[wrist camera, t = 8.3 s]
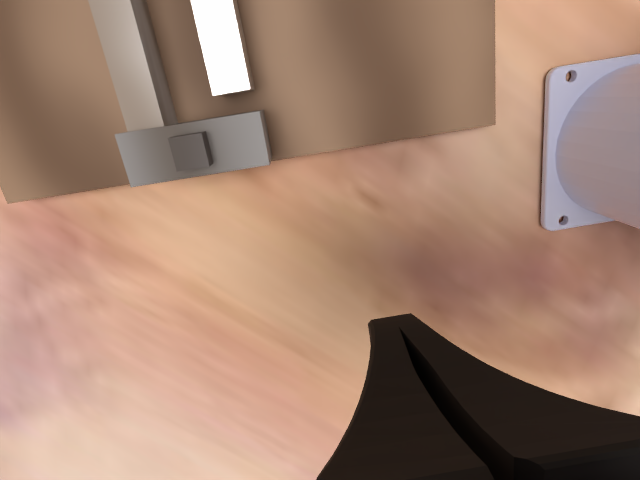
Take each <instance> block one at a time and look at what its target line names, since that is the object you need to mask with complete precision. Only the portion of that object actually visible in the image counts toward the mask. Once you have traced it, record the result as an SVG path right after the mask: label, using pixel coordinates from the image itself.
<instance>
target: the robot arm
mask: <svg viewBox="0 0 640 480" xmlns="http://www.w3.org/2000/svg"><path fill="white" fill-rule="evenodd" d="M568 72H570V73H571V79H570V80H569V81H567V80H566V74H567V73H568ZM562 216H563V217H564V218H563V221H562V222H560V223H559V222H558V221H559V219H560V217H562ZM610 221H619V222H622V223H624V224H627V225H630V226H632V227H635V228H638V229H640V54H634V55H627V56H621V57H615V58H609V59H603V60H596V61H590V62H584V63H578V64H571V65H565V66H559V67H555V68H552V69H551V70H550V71H549V72H548V74H547V76H546V82H545V111H544V140H543V169H542V198H541V225H542V227H543V228H545V229H547V230H549V231H556V230H562V229H568V228H574V227H580V226H586V225H592V224H598V223H604V222H610ZM368 327H369V334H370V342H371V350H370V360H369V365H368V370H367V375H366V380H365V383H364V387H363V391H362V394H361V397H360V400H359V403H358V405H357V408H356V410H355V413H354V415H353V418H352V420H351V422H350V424H349V426H348V428H347V430H346V432H345V434H344V436H343V438H342V440H341V441H340V443H339V445H338V447H337V449H336V450H335V452H334V454H333V455H332V457H331V458H330V460H329V461H328V462H327V464H326V465H325V467H324V468H323V470H322V471H321V473H320V474H319V475H318V477H317V479H316V480H640V416H635V415H631V414H627V413H623V412H618V411H614V410H610V409H606V408H602V407H598V406H594V405H591V404H587V403H584V402H581V401H577V400H574V399H571V398H567V397H564V396H561V395H558V394H556V393H553V392H550V391H547V390H544V389H542V388H539V387H537V386H534V385H532V384H529V383H526V382H524V381H522V380H519V379H517V378H515V377H512V376H510V375H508V374H506V373H504V372H502V371H500V370H498V369H496V368H494V367H492V366H490V365H488V364H486V363H484V362H482V361H480V360H479V359H477V358H475V357H474V356H472V355H470V354H469V353H467V352H465V351H463V350H462V349H460V348H459V347H457V346H456V345H454V344H453V343H451V342H450V341H448V340H447V339H445V338H444V337H442V336H441V335H439V334H438V333H437V332H435V331H434V330H433V329H431V328H430V327H429V326H427V325H426V324H425V323H423V322H422V321H421V320H419V319H418V318H417V317H415V316H414V315H412V314H411V313H410V314H404V315H398V316H392V317H386V318H380V319H374V320H371V321H370V322H369V323H368Z"/></svg>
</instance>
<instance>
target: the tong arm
mask: <svg viewBox="0 0 640 480" xmlns="http://www.w3.org/2000/svg"><path fill="white" fill-rule="evenodd" d="M191 4H192V8H193V12H194V17H195V21H196V25H197V29H198V34H199V38H200V42H201V46H202V51H203V55H204V59H205V63H206V68H207V72H208V76H209V81H210V85H211V89H212V93H213V95H214V96H224V95H230V94H236V93H242V92H248V91H254V90H255V88H254V83H253V78H252V73H251V68H250V63H249V58H248V53H247V48H246V43H245V38H244V33H243V28H242V23H241V18H240V13H239V8H238V3H237V0H191Z"/></svg>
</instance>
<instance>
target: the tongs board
mask: <svg viewBox="0 0 640 480" xmlns="http://www.w3.org/2000/svg"><path fill="white" fill-rule="evenodd" d="M237 3H238V8H239V13H240V18H241V23H242V28H243V33H244V38H245V43H246V48H247V53H248V58H249V63H250V68H251V73H252V78H253V83H254V88H255V90H254V91H248V92H242V93H236V94H230V95H224V96H214V95H213V93H212V89H211V85H210V81H209V76H208V72H207V68H206V63H205V59H204V55H203V51H202V46H201V42H200V38H199V34H198V29H197V25H196V21H195V17H194V12H193V8H192V4H191V0H0V187H1V189H2V192H3V194H4V196H5V199H6V201H7V203H8V204H10V203H16V202H22V201H28V200H34V199H40V198H47V197H53V196H59V195H65V194H71V193H77V192H84V191H90V190H96V189H102V188H108V187H114V186H121V185H127V184H130V186H131V187H136V186H142V185H148V184H154V183H160V182H167V181H173V180H179V179H185V178H191V177H197V176H204V175H210V174H216V173H222V172H228V171H234V170H241V169H247V168H253V167H259V166H265V165H270V162H271V161H275V160H281V159H287V158H293V157H300V156H306V155H312V154H318V153H324V152H330V151H337V150H343V149H349V148H355V147H361V146H367V145H374V144H380V143H386V142H392V141H398V140H404V139H411V138H417V137H423V136H429V135H435V134H441V133H448V132H454V131H460V130H466V129H472V128H478V127H485V126H491V125H495V0H237Z"/></svg>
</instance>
